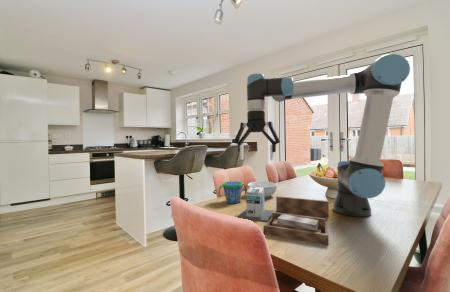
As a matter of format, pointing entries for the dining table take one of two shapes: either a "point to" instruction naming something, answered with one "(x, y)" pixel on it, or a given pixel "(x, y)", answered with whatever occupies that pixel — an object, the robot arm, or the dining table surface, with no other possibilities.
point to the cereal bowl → (265, 187)
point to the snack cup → (232, 191)
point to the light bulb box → (255, 202)
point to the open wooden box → (301, 209)
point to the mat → (265, 217)
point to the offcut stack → (297, 223)
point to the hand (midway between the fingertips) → (256, 159)
